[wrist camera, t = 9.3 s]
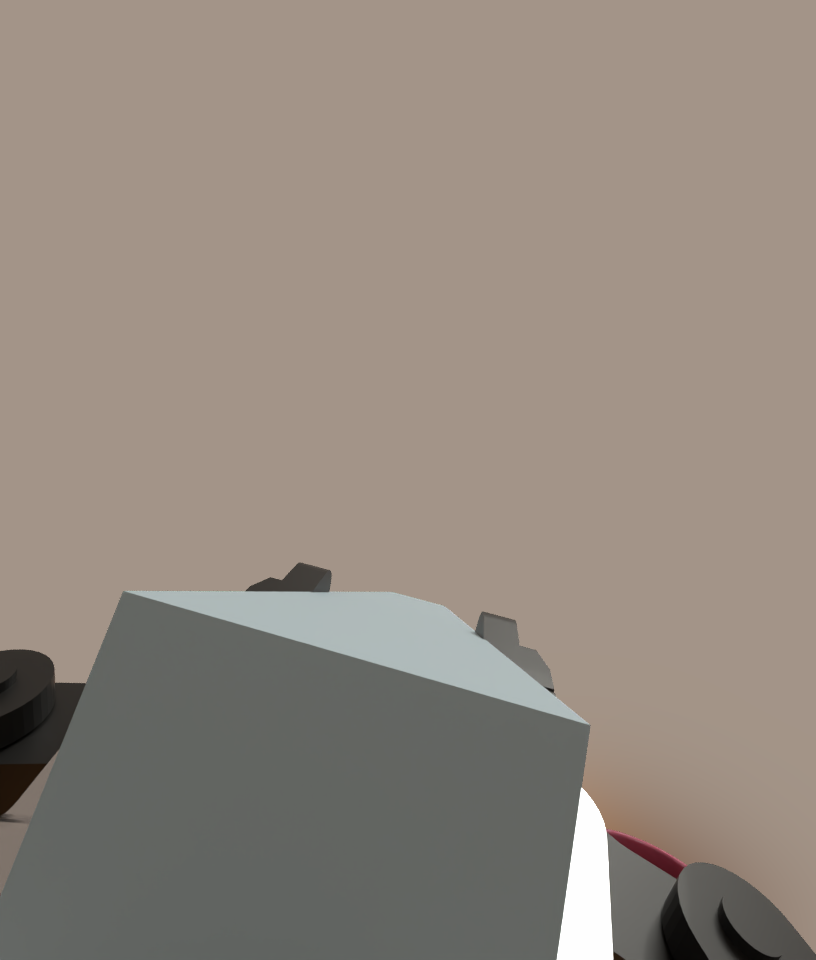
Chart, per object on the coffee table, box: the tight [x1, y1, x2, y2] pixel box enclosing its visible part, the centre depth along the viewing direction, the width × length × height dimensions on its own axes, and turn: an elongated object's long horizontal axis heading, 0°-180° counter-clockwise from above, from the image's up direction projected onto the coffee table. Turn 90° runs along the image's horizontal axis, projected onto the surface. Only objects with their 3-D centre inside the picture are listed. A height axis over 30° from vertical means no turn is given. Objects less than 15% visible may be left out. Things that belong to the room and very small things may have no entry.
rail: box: [0, 591, 590, 960], centre depth 15 cm, size 26×4×4 cm, turn 177°
